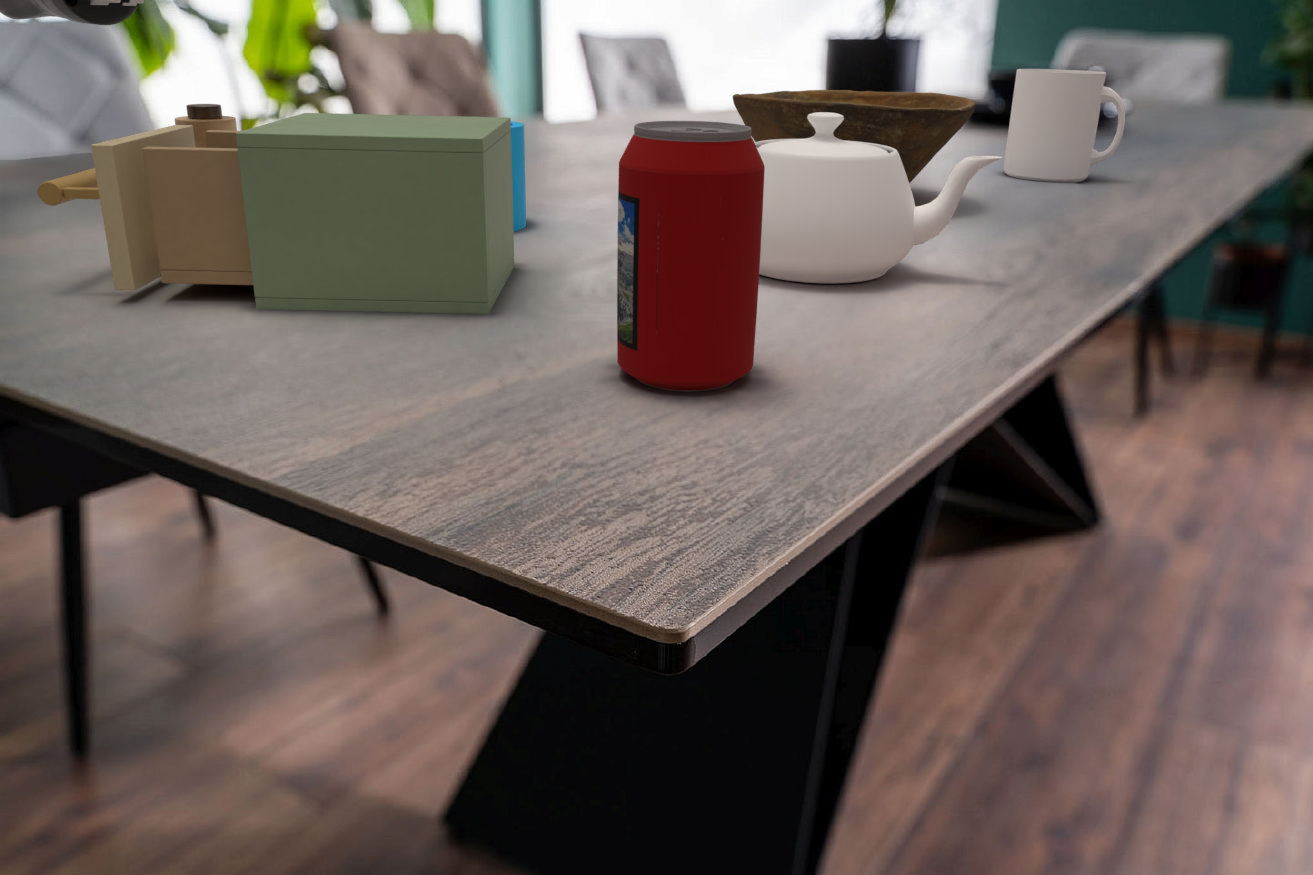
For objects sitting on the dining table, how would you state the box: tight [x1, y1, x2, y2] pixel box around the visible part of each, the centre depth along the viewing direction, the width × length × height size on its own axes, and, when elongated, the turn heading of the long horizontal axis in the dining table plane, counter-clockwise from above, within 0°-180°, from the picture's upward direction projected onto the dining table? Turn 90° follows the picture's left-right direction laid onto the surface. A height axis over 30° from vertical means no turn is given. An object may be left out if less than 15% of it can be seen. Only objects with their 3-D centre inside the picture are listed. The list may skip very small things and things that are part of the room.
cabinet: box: [236, 112, 515, 315], centre depth 67 cm, size 14×13×10 cm
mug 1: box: [510, 120, 527, 232], centre depth 89 cm, size 12×8×8 cm
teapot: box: [754, 112, 1003, 285], centre depth 74 cm, size 22×14×11 cm, turn 76°
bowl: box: [732, 89, 977, 185], centre depth 104 cm, size 22×23×10 cm
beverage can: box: [616, 120, 765, 393], centre depth 51 cm, size 7×7×12 cm
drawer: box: [37, 124, 253, 291], centre depth 67 cm, size 17×11×8 cm, turn 90°
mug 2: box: [1003, 68, 1126, 183], centre depth 122 cm, size 10×12×12 cm
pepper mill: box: [174, 103, 238, 148], centre depth 89 cm, size 5×5×9 cm
